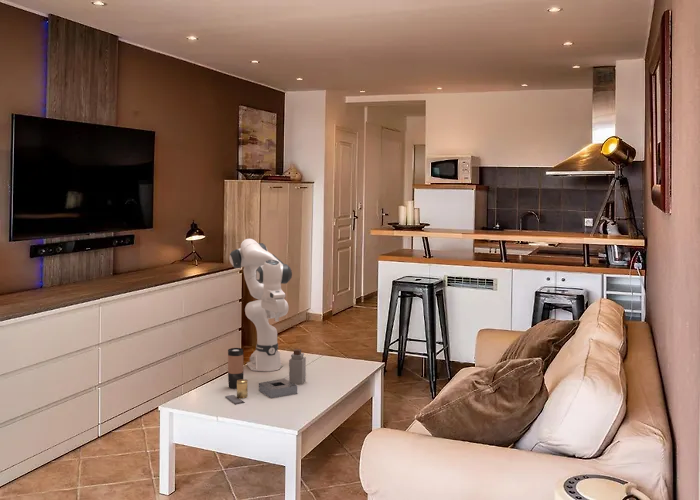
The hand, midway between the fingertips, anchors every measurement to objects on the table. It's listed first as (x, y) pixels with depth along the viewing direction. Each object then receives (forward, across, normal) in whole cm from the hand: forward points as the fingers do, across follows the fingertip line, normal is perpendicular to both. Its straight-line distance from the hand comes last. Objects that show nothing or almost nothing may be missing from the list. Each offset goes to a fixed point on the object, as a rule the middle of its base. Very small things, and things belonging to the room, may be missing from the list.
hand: (272, 319), depth 337 cm
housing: (+34, +14, -4) cm, 37 cm away
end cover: (+33, +12, -22) cm, 41 cm away
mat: (+34, +12, -22) cm, 42 cm away
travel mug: (+34, -5, -18) cm, 39 cm away
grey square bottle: (+34, +4, +12) cm, 37 cm away
